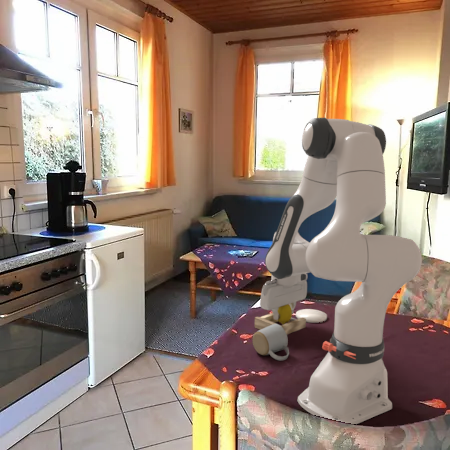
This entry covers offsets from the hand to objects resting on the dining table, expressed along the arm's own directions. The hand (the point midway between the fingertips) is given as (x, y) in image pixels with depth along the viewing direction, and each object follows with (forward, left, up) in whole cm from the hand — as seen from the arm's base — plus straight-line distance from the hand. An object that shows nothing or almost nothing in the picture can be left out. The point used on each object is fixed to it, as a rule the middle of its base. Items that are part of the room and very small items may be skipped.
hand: (283, 316), depth 143 cm
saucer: (+14, -1, -4) cm, 15 cm away
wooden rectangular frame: (-1, 0, -4) cm, 4 cm away
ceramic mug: (-18, -11, -4) cm, 21 cm away
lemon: (0, 0, -3) cm, 3 cm away
